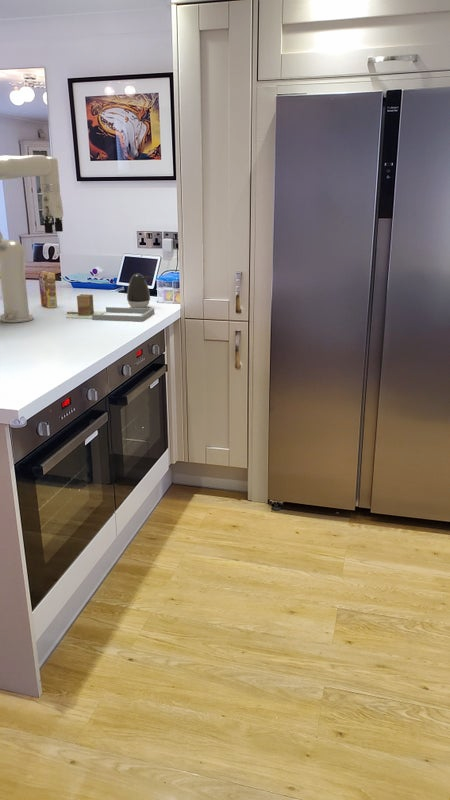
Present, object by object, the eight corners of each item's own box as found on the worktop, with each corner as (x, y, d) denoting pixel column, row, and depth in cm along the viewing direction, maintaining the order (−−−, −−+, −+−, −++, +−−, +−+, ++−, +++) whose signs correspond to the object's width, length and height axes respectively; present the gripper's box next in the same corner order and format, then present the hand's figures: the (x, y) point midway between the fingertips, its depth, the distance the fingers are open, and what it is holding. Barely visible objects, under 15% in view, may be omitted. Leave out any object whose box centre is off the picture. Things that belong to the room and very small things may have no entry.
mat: (93, 318, 256) (93, 318, 256) (66, 317, 258) (66, 317, 258) (105, 312, 269) (105, 311, 269) (79, 311, 271) (79, 310, 271)
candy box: (58, 307, 280) (55, 273, 275) (49, 308, 278) (46, 273, 273) (49, 304, 287) (46, 271, 282) (40, 305, 284) (37, 271, 279)
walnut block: (89, 315, 260) (88, 296, 258) (64, 314, 262) (63, 295, 260) (93, 313, 265) (92, 294, 263) (69, 312, 267) (68, 293, 264)
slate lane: (142, 321, 251) (142, 316, 250) (92, 319, 254) (91, 314, 254) (154, 313, 267) (154, 308, 266) (107, 311, 270) (106, 307, 270)
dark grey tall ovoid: (146, 310, 273) (145, 275, 269) (124, 309, 275) (122, 274, 270) (153, 306, 283) (152, 272, 278) (132, 305, 285) (130, 271, 280)
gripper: (49, 189, 246) (53, 233, 252) (67, 188, 262) (71, 231, 268) (32, 189, 247) (36, 233, 253) (50, 188, 263) (54, 230, 269)
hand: (54, 232), depth 260 cm, fingers open, 9 cm apart
